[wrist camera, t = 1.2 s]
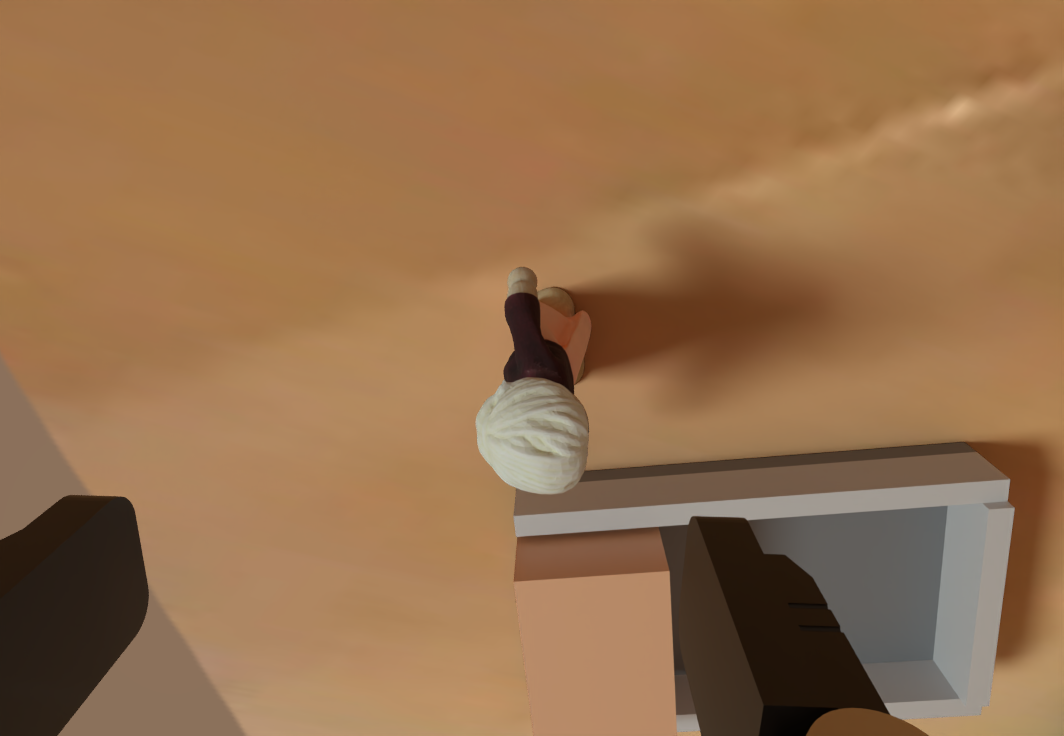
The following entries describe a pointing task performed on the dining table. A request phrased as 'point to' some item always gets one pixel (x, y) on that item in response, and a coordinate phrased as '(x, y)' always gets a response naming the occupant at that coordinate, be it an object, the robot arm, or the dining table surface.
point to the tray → (839, 552)
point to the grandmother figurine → (538, 392)
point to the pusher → (597, 633)
